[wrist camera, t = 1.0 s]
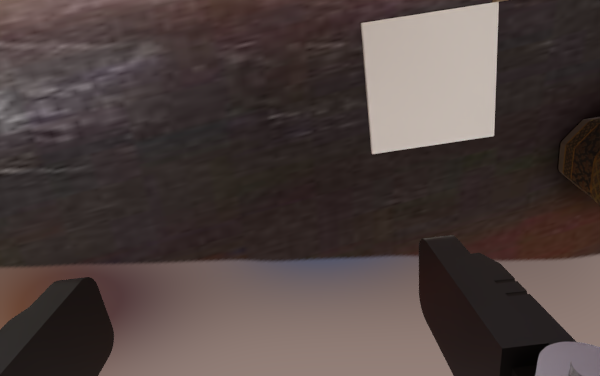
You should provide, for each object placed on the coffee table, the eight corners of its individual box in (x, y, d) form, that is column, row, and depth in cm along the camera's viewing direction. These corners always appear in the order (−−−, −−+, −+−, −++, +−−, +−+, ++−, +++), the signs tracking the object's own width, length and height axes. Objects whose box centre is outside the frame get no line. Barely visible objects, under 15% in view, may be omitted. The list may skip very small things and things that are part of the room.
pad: (360, 23, 31) (361, 23, 30) (495, 2, 31) (498, 1, 30) (371, 152, 35) (372, 154, 34) (491, 134, 35) (494, 135, 34)
